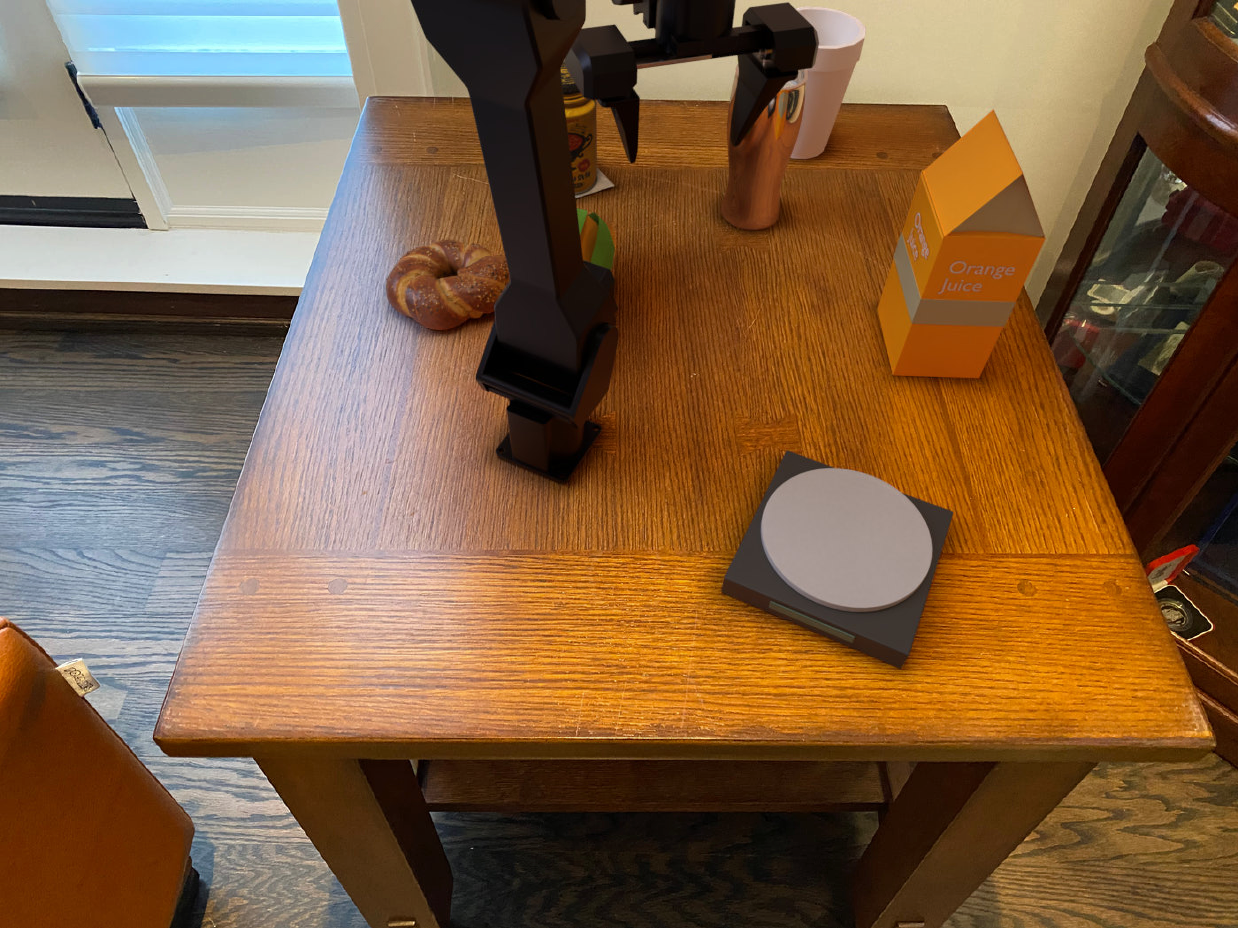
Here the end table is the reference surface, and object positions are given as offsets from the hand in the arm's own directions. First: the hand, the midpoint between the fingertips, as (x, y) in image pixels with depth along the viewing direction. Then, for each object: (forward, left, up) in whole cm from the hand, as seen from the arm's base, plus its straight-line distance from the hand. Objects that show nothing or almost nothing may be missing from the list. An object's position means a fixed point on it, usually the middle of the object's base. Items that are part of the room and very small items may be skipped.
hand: (683, 152), depth 72 cm
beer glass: (+14, -3, -14) cm, 20 cm away
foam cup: (+29, -3, -14) cm, 32 cm away
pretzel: (-11, +17, -14) cm, 25 cm away
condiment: (+11, +17, -14) cm, 25 cm away
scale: (-23, -24, -14) cm, 36 cm away
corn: (-9, +6, -14) cm, 18 cm away
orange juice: (+3, -24, -14) cm, 28 cm away
